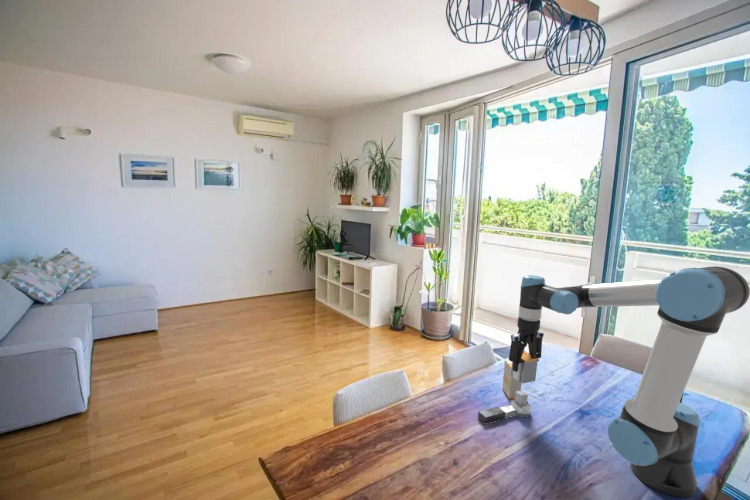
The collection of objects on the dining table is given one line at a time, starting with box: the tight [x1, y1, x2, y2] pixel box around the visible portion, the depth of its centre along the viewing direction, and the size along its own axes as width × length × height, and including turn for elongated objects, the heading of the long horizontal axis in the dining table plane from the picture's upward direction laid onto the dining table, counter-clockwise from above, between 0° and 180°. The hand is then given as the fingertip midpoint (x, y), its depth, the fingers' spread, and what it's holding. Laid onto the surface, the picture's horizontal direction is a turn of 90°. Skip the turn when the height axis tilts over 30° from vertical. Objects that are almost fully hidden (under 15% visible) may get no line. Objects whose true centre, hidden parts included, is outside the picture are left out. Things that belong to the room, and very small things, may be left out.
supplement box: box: [502, 359, 522, 400], centre depth 148 cm, size 8×5×13 cm, turn 179°
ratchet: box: [477, 390, 531, 425], centre depth 133 cm, size 22×7×8 cm, turn 113°
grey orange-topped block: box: [511, 351, 539, 384], centre depth 134 cm, size 6×6×9 cm
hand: (523, 377), depth 135 cm, fingers closed on grey orange-topped block, 6 cm apart
